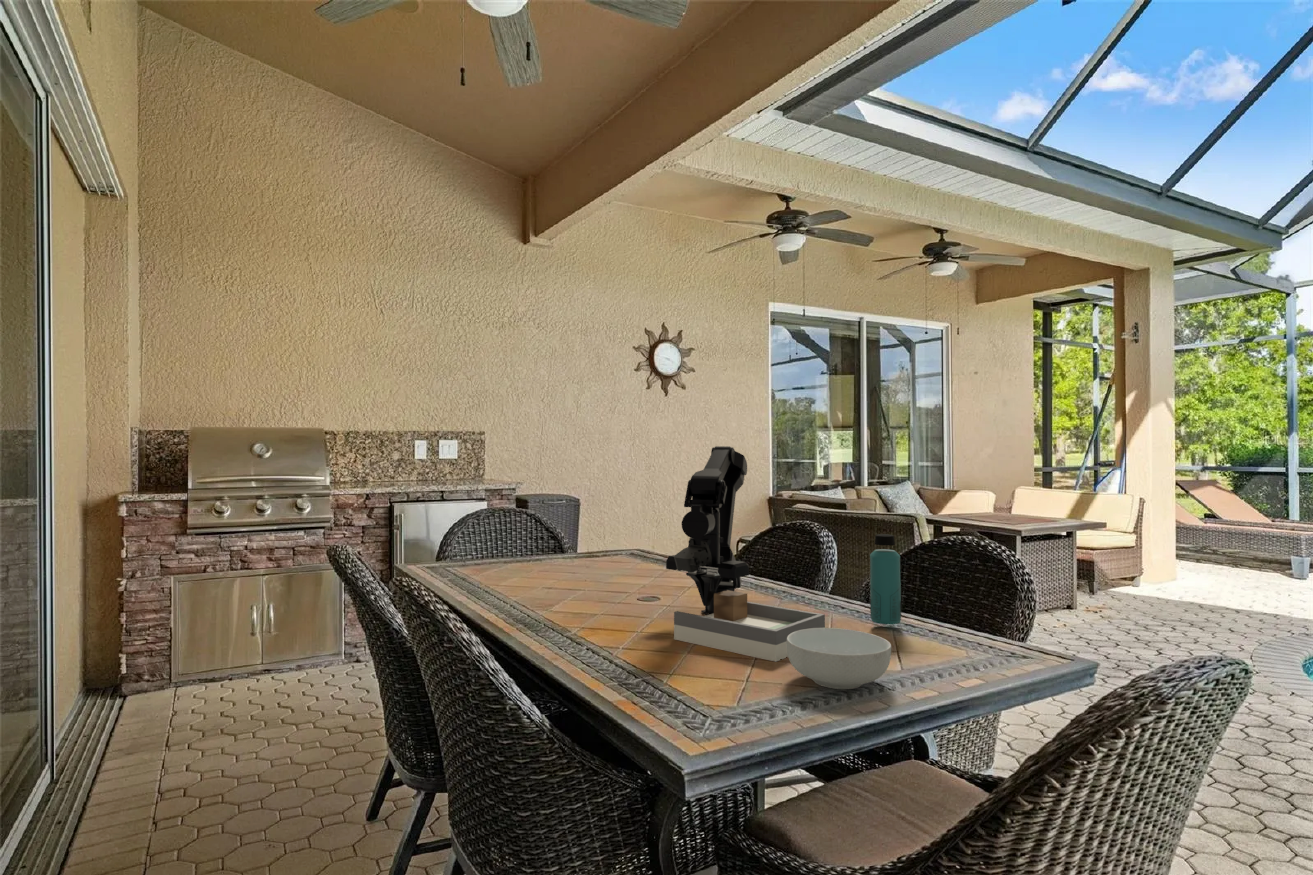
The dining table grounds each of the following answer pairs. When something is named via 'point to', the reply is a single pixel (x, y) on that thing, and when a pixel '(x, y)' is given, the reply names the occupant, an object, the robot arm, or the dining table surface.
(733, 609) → the walnut block
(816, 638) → the cereal bowl
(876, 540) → the beverage bottle
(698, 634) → the trap box
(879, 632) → the dining table surface
